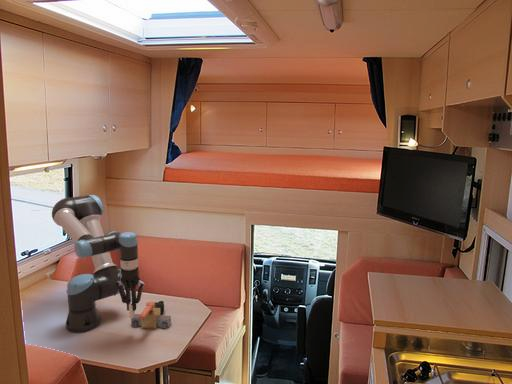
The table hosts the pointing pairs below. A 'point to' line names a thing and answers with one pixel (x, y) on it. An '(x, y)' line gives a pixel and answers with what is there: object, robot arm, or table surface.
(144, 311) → the lever
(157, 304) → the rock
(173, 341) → the table surface
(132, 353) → the table surface
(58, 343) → the table surface
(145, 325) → the valve
